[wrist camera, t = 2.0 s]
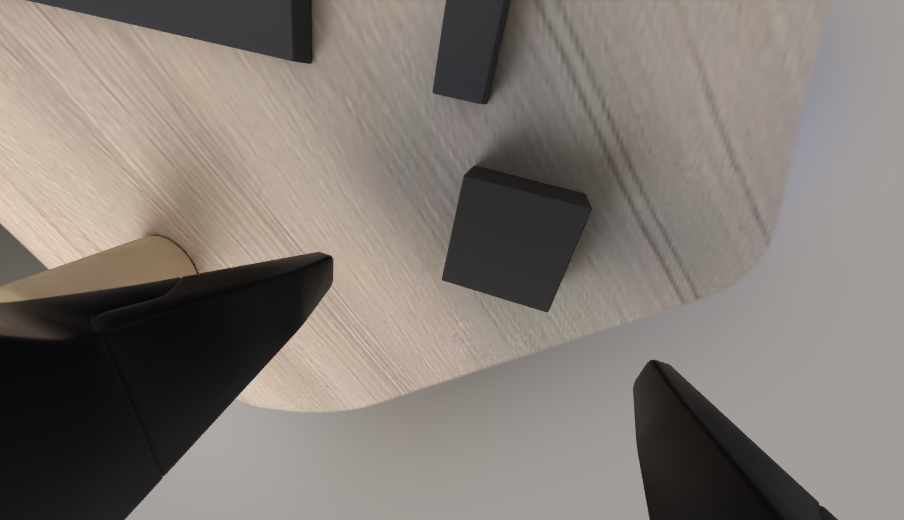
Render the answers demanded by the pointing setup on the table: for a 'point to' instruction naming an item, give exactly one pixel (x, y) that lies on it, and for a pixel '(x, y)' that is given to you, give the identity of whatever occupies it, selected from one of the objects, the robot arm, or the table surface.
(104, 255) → the candle
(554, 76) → the table surface
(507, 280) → the black block
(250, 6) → the mat
